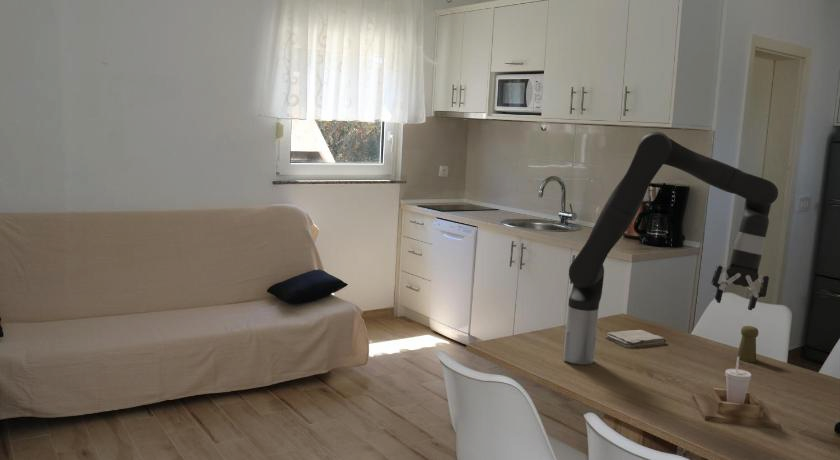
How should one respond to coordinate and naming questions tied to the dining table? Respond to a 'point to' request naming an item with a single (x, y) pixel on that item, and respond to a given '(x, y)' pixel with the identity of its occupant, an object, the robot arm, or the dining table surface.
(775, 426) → the open wooden box
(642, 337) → the washcloth
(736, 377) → the smoothie
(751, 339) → the cork
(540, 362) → the dining table surface
